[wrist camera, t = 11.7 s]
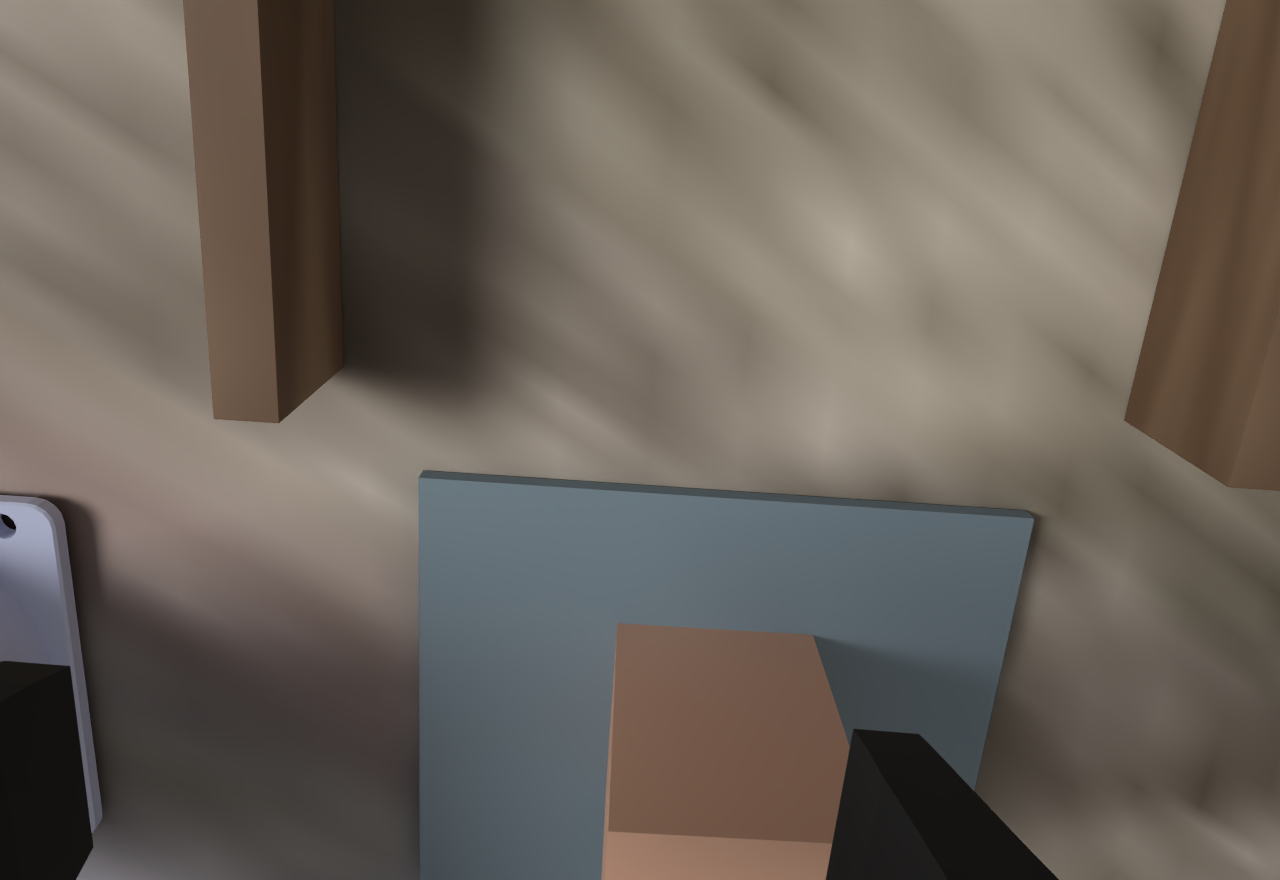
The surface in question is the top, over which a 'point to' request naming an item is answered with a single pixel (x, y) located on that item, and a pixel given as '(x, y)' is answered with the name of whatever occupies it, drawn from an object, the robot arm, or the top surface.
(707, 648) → the terracotta block
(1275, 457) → the walnut crate
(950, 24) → the top surface
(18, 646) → the robot arm
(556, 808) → the slate mat
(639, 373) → the top surface
